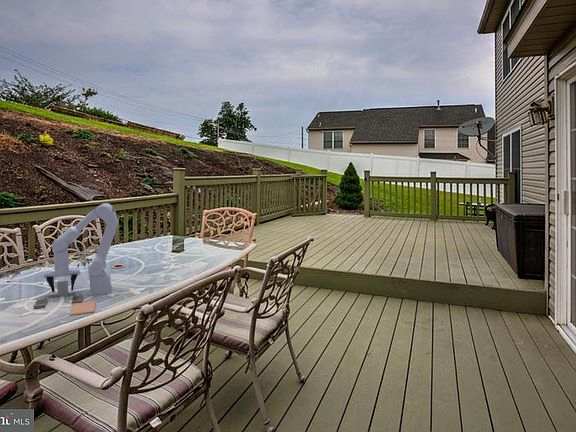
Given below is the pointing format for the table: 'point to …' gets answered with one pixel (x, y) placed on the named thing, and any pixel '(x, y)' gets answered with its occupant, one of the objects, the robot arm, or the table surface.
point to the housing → (43, 302)
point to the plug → (62, 288)
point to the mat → (83, 308)
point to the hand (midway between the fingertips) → (63, 291)
